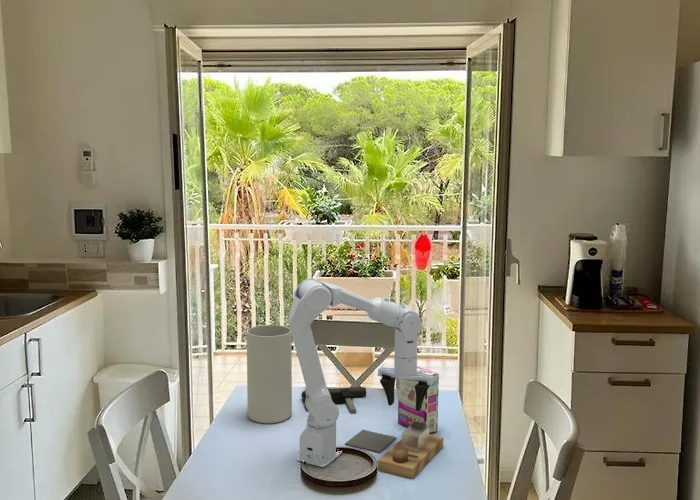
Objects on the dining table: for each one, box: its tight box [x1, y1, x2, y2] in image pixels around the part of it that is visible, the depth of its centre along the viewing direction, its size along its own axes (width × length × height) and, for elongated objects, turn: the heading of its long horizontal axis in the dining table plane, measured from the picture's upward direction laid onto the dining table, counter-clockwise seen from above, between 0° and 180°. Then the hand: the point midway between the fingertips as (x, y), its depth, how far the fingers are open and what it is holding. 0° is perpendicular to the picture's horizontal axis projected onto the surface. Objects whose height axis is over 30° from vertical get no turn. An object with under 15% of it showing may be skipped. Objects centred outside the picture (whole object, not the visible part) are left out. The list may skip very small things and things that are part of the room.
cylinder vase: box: [246, 324, 293, 424], centre depth 192 cm, size 12×12×25 cm
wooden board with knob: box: [377, 434, 444, 480], centre depth 167 cm, size 20×9×5 cm, turn 152°
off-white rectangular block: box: [400, 422, 429, 452], centre depth 169 cm, size 7×4×5 cm, turn 152°
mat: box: [344, 429, 397, 454], centre depth 177 cm, size 10×10×1 cm
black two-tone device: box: [301, 386, 367, 415], centre depth 203 cm, size 3×20×16 cm
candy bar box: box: [397, 366, 440, 435], centre depth 185 cm, size 11×5×16 cm, turn 39°
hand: (404, 406), depth 173 cm, fingers open, 7 cm apart
